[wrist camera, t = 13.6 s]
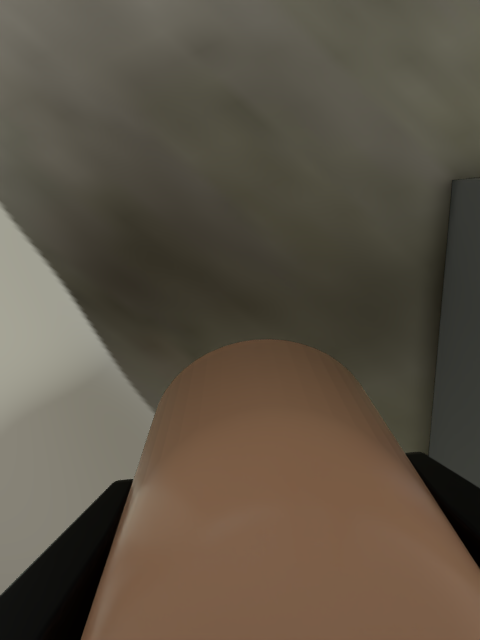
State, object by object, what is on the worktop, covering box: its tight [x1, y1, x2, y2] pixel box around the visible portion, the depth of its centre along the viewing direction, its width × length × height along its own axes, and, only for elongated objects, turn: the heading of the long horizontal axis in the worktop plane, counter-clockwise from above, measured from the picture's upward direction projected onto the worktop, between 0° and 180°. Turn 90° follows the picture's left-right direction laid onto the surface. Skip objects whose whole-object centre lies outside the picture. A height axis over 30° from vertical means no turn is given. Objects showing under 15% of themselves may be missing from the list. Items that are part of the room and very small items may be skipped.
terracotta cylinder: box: [81, 339, 480, 640], centre depth 5 cm, size 5×5×7 cm
